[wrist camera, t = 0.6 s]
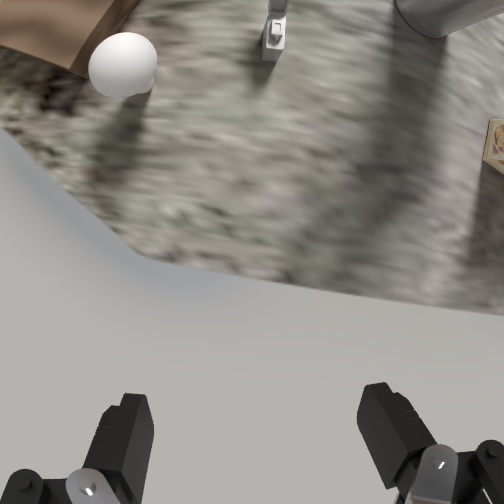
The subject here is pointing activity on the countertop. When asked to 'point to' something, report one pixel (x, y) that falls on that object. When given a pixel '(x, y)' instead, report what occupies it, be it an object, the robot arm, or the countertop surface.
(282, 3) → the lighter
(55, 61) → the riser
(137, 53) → the lightbulb
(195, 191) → the countertop surface
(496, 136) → the coffeecake box
